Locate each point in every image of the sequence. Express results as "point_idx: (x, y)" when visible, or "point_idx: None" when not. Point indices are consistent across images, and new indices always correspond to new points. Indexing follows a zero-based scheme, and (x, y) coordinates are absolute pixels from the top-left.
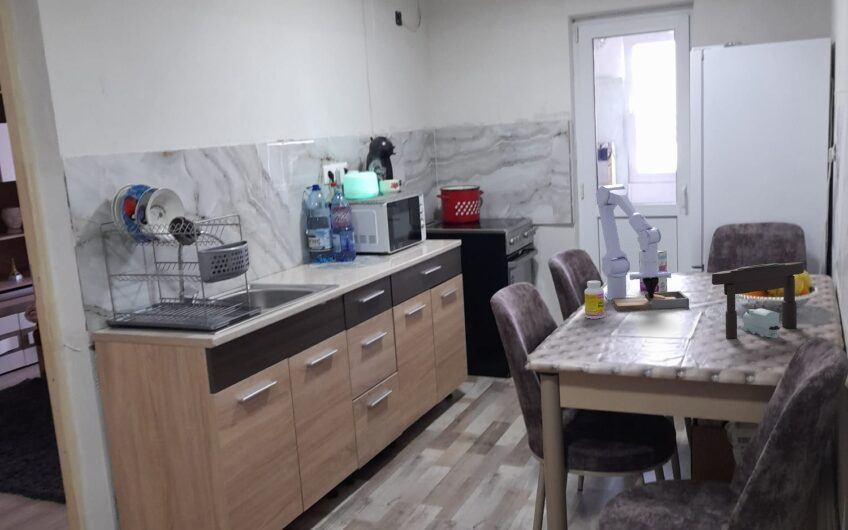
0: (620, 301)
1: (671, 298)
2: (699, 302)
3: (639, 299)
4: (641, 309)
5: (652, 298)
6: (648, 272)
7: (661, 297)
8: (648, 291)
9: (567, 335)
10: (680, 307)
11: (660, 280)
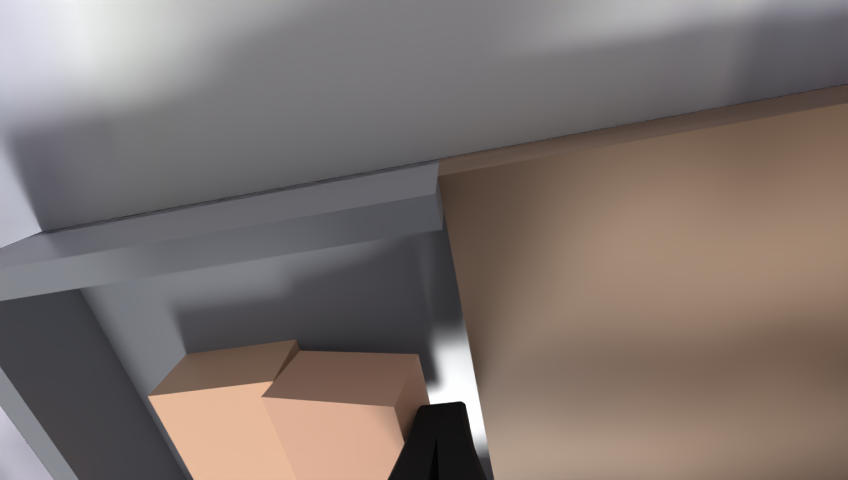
0: (844, 380)
1: (209, 423)
2: None
3: (577, 455)
4: (577, 135)
5: None
6: None
7: (306, 398)
8: (484, 478)
9: None
10: (114, 219)
11: None
